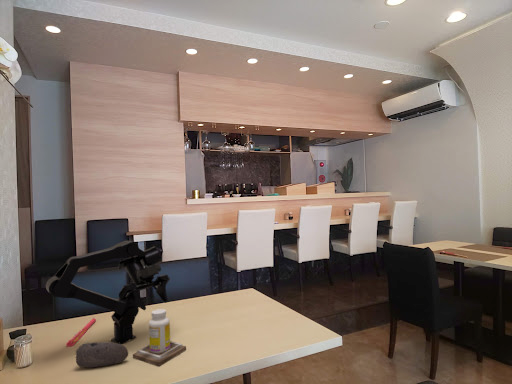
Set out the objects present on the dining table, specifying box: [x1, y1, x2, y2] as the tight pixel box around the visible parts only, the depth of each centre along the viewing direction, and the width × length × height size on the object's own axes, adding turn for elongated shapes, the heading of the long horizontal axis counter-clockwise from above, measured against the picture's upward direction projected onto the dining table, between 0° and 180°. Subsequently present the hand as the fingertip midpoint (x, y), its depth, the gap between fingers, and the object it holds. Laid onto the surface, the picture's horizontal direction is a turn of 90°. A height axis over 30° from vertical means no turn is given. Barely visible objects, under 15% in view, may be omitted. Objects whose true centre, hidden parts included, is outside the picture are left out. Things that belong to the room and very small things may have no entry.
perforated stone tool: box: [75, 341, 129, 368], centre depth 101 cm, size 15×5×7 cm, turn 98°
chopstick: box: [65, 317, 97, 348], centre depth 126 cm, size 24×2×5 cm
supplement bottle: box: [148, 308, 171, 354], centre depth 107 cm, size 7×7×13 cm
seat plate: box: [132, 340, 187, 367], centre depth 107 cm, size 12×12×2 cm
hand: (156, 305), depth 115 cm, fingers open, 9 cm apart
